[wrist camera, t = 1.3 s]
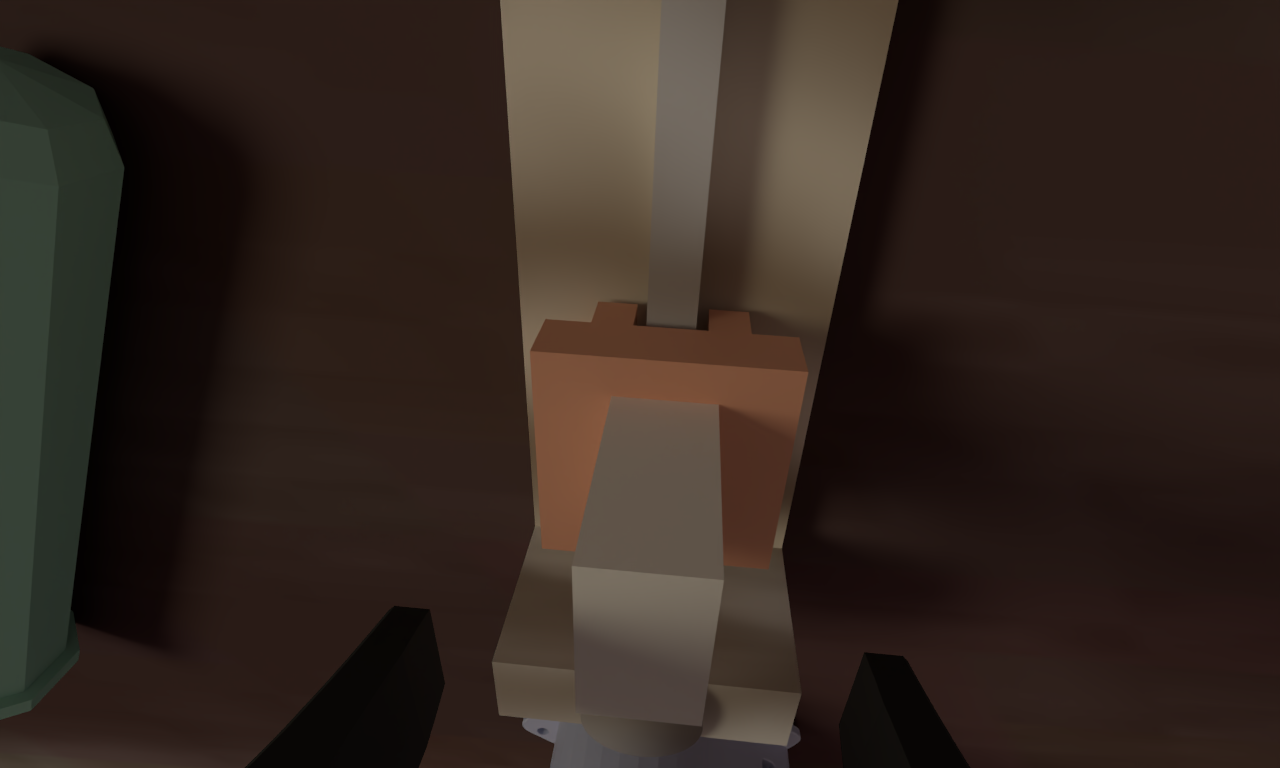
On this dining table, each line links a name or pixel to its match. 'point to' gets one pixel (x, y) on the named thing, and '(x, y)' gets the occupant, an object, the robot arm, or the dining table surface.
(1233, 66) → the dining table surface
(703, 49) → the rail
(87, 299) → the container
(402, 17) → the dining table surface
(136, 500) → the dining table surface
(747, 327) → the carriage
